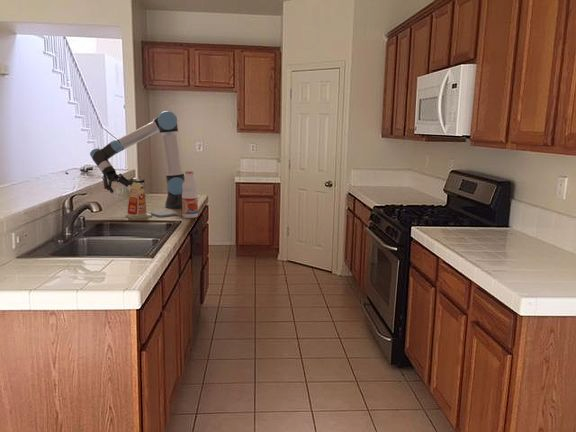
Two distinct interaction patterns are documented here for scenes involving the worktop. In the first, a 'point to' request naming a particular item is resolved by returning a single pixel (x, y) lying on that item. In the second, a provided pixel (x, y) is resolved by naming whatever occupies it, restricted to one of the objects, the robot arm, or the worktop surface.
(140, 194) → the milk carton
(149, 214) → the sage mat
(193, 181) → the fruit juice
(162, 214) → the slate mat
